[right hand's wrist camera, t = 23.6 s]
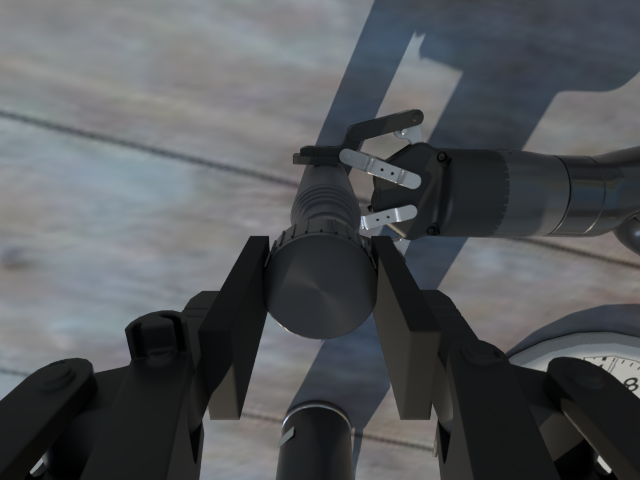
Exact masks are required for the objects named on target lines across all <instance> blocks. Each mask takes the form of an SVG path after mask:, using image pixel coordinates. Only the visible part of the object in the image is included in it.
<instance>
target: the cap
mask: <svg viewBox="0 0 640 480" xmlns="http://www.w3.org/2000/svg"><path fill="white" fill-rule="evenodd" d="M264 269H265V270H264V273H263V277H262V285H263V300H264V303H265V306H266V308H267V310H268V312H269V313H270V315H271V316H272V317H273V319H274V320H275V321H276V322H277V323H278V324H279V325H281V326H282V327H283V328H285V329H286V330H288V331H289V332H291V333H293V334H296V335H298V336H301V337H305V338H310V339H331V338H335V337H339V336H342V335H345V334H347V333H349V332H351V331H353V330H354V329H356V328H357V327H358V326H360V325H361V324H362V323H363V322H364V321H365V320H366V319H367V318H368V316H369V315H370V314H371V312H372V310H373V309H374V307H375V304H376V301H377V289H378V276H377V272H376V271H377V268H376V265H375V263H374V260H373V257H372V254H371V253H370V250H369V247H368V244H367V242H364V240H363V239H362V238H361V236H360V234H359V232H356V231H354V230H353V229H352V228H351V227H349V225H348V224H347V225H345V224H343V223H341V222H338V221H336V219H334V220H331V219H322V217H320V219H306V220H305V221H302V222H299V223H297V224H296V223H294V224H293V226H291V227H290V228H288V229H287V230H286V231H283V232H282V234H281V235H280V237H279V238H278V239H277V241H276V240H275V241H274V243H273V246H272V249H271V251H269V254H268V257H267V260H266V262H265V265H264Z"/></svg>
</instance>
